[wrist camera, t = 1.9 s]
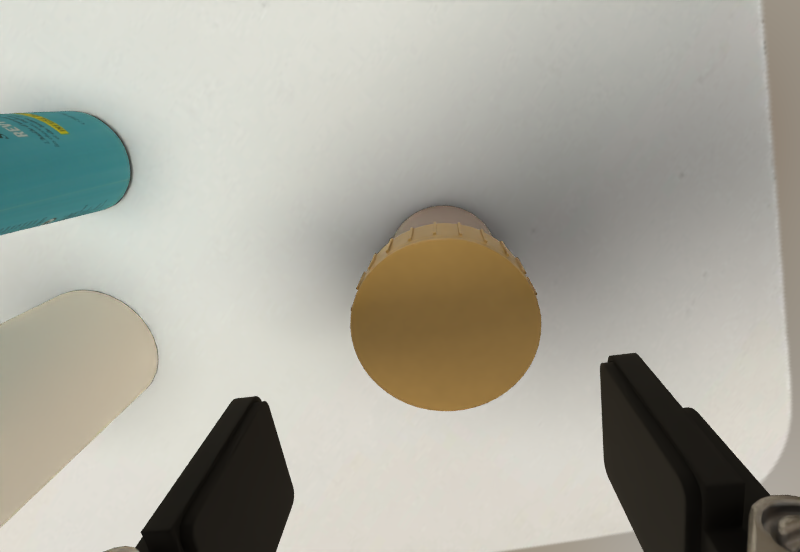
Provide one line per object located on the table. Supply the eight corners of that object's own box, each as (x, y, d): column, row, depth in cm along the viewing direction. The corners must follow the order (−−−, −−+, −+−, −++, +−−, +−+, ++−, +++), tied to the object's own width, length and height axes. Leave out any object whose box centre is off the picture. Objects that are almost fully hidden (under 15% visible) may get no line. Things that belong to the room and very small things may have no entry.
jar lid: (557, 249, 17) (574, 269, 15) (497, 398, 20) (504, 433, 17) (382, 199, 17) (375, 212, 15) (342, 354, 19) (330, 384, 17)
